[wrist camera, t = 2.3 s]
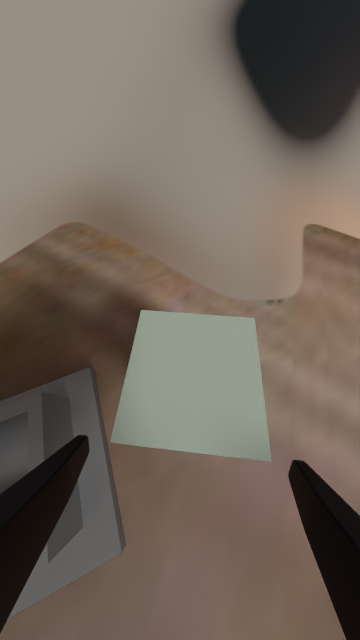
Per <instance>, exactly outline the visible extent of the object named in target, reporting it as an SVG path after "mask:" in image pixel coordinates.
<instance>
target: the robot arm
mask: <svg viewBox="0 0 360 640" xmlns="http://www.w3.org/2000/svg"><path fill="white" fill-rule="evenodd" d="M89 450H90V448H89V439H88V436H87V435H78V436H76V437H75V438H73V439H72V440H71V441H69V442H68V443H67V444H65V445H64V446H63V447H62V448H60V449H59V450H58V451H56V452H55V453H54V454H52V455H51V456H50V457H48V458H47V459H46V460H45V461H43V462H42V463H41V464H39V465H38V466H37V467H35V468H34V469H33V470H31V471H30V472H29V473H27V474H26V475H25V476H24V477H22V478H21V479H20V480H18V481H17V482H16V483H14V484H13V485H12V486H10V487H9V488H8V489H7V490H5V491H4V492H3V493H1V494H0V633H1V631H2V629H3V627H4V625H5V623H6V621H7V619H8V617H9V615H10V613H11V612H12V610H13V608H14V606H15V604H16V602H17V600H18V598H19V596H20V594H21V592H22V590H23V588H24V586H25V584H26V583H27V581H28V579H29V577H30V575H31V573H32V571H33V569H34V567H35V565H36V563H37V561H38V559H39V557H40V555H41V554H42V552H43V550H44V548H45V546H46V544H47V542H48V540H49V538H50V536H51V534H52V532H53V530H54V528H55V526H56V524H57V523H58V521H59V519H60V517H61V515H62V513H63V511H64V509H65V507H66V505H67V503H68V501H69V499H70V497H71V495H72V493H73V490H74V488H75V486H76V483H77V481H78V478H79V476H80V474H81V471H82V469H83V466H84V464H85V462H86V459H87V457H88V454H89ZM289 481H290V484H291V488H292V491H293V494H294V498H295V501H296V504H297V508H298V511H299V514H300V518H301V521H302V524H303V527H304V530H305V533H306V536H307V538H308V541H309V544H310V546H311V549H312V551H313V554H314V557H315V559H316V562H317V564H318V567H319V570H320V572H321V575H322V577H323V580H324V583H325V585H326V588H327V590H328V593H329V596H330V598H331V601H332V603H333V606H334V609H335V611H336V614H337V616H338V619H339V622H340V624H341V627H342V629H343V632H344V635H345V637H346V640H360V516H359V515H358V514H357V513H356V512H355V511H354V510H353V509H352V508H351V507H350V506H349V505H348V504H347V503H346V502H345V501H344V500H343V499H342V498H341V497H340V496H339V495H338V494H337V493H336V492H335V491H334V490H333V489H332V488H331V487H330V486H329V485H328V484H327V483H326V482H325V481H324V480H323V479H322V478H321V477H320V476H319V475H318V474H317V473H316V472H315V471H314V470H313V469H312V468H311V467H310V466H309V465H308V464H307V463H306V462H304V461H302V460H293V461H292V464H291V467H290V470H289Z"/></svg>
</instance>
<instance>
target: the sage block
mask: <svg viewBox="0 0 360 640" xmlns="http://www.w3.org/2000/svg"><path fill="white" fill-rule="evenodd" d="M110 443H118V444H126V445H135V446H143V447H152V448H160V449H169V450H177V451H185V452H194V453H202V454H211V455H219V456H228V457H236V458H245V459H253V460H262V461H270V462H272V461H271V453H270V444H269V436H268V428H267V419H266V411H265V402H264V394H263V386H262V377H261V369H260V360H259V352H258V343H257V335H256V327H255V318H244V317H230V316H217V315H203V314H190V313H176V312H162V311H149V310H141V313H140V317H139V321H138V326H137V330H136V334H135V338H134V343H133V347H132V351H131V355H130V360H129V364H128V368H127V372H126V377H125V381H124V385H123V389H122V394H121V398H120V402H119V406H118V411H117V415H116V419H115V423H114V428H113V432H112V436H111V440H110Z"/></svg>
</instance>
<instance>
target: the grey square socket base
mask: <svg viewBox="0 0 360 640" xmlns="http://www.w3.org/2000/svg"><path fill="white" fill-rule="evenodd" d="M78 435H87V436H88V439H89V448H90V450H89V454H88V457H87V459H86V462H85V464H84V466H83V469H82V471H81V474H80V476H79V478H78V481H77V483H76V486H75V488H74V490H73V493H72V495H71V497H70V499H69V501H68V503H67V505H66V507H65V509H64V511H63V513H62V515H61V517H60V519H59V521H58V523H57V524H56V526H55V528H54V530H53V532H52V534H51V536H50V538H49V540H48V542H47V544H46V546H45V548H44V550H43V552H42V554H41V555H40V557H39V559H38V561H37V563H36V565H35V567H34V569H33V571H32V573H31V575H30V577H29V579H28V581H27V583H26V584H25V586H24V588H23V590H22V592H21V594H20V596H19V598H18V600H17V602H16V604H15V606H14V608H13V610H12V612H11V613H10V615H9V617H8V618H10V617H12V616H13V615H15V614H17V613H19V612H20V611H22V610H24V609H26V608H27V607H29V606H31V605H33V604H34V603H36V602H38V601H39V600H41V599H43V598H45V597H46V596H48V595H50V594H52V593H53V592H55V591H57V590H59V589H60V588H62V587H64V586H65V585H67V584H69V583H71V582H72V581H74V580H76V579H78V578H79V577H81V576H83V575H85V574H86V573H88V572H90V571H91V570H93V569H95V568H97V567H98V566H100V565H102V564H104V563H105V562H107V561H109V560H111V559H112V558H114V557H116V556H117V555H119V554H121V553H122V552H123V550H124V547H125V545H126V543H125V538H124V532H123V527H122V521H121V516H120V510H119V505H118V499H117V494H116V488H115V483H114V477H113V472H112V466H111V461H110V455H109V450H108V444H107V439H106V433H105V428H104V423H103V417H102V412H101V406H100V401H99V395H98V390H97V384H96V379H95V373H94V369H92V368H91V367H88V368H86V369H83V370H80V371H78V372H75V373H73V374H70V375H67V376H65V377H62V378H60V379H57V380H54V381H52V382H49V383H46V384H44V385H41V386H39V387H36V388H33V389H31V390H28V391H25V392H23V393H20V394H18V395H15V396H12V397H10V398H7V399H5V400H2V401H0V494H1V493H3V492H4V491H5V490H7V489H8V488H9V487H10V486H12V485H13V484H14V483H16V482H17V481H18V480H20V479H21V478H22V477H24V476H25V475H26V474H27V473H29V472H30V471H31V470H33V469H34V468H35V467H37V466H38V465H39V464H41V463H42V462H43V461H45V460H46V459H47V458H48V457H50V456H51V455H52V454H54V453H55V452H56V451H58V450H59V449H60V448H62V447H63V446H64V445H65V444H67V443H68V442H69V441H71V440H72V439H73V438H75V437H76V436H78Z"/></svg>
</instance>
